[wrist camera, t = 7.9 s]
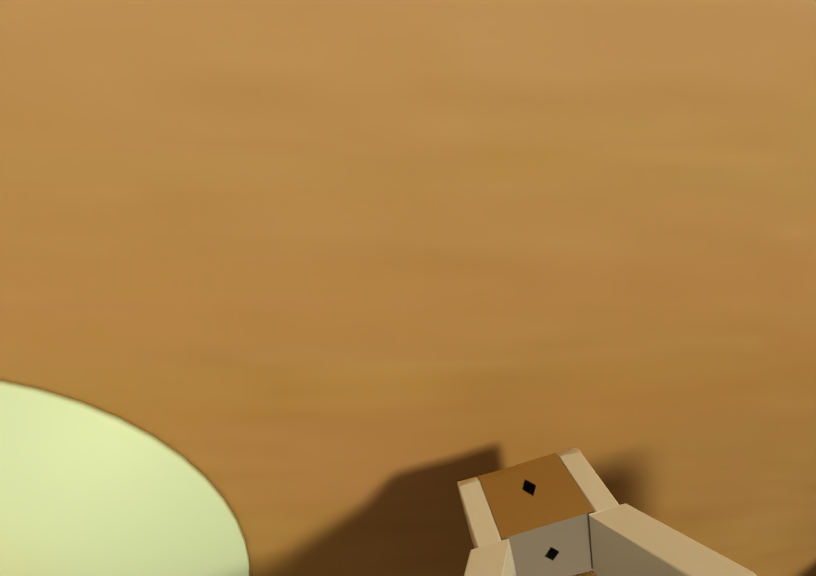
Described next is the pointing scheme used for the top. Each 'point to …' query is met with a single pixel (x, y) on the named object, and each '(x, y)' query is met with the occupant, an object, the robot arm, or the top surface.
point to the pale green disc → (104, 497)
